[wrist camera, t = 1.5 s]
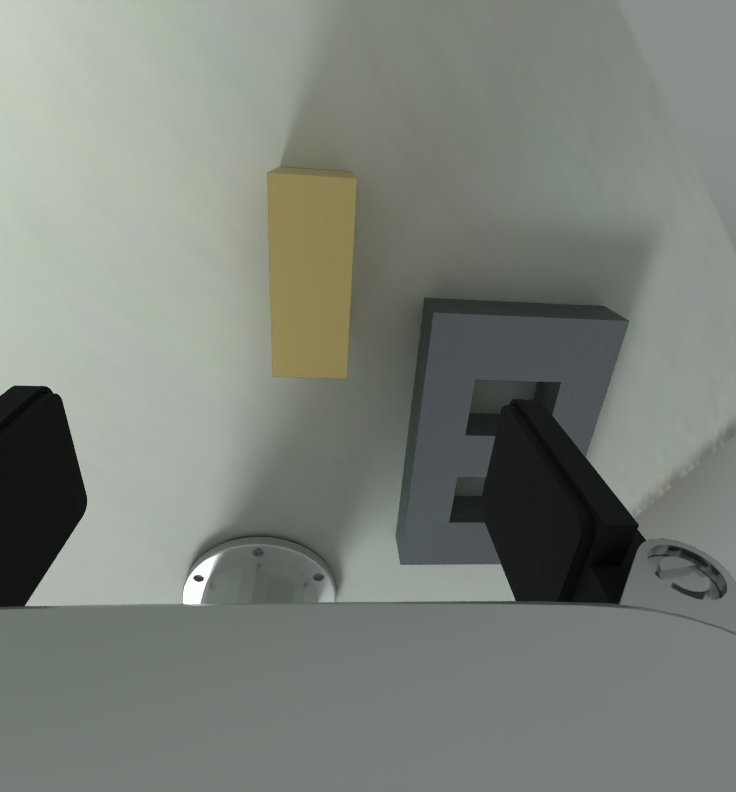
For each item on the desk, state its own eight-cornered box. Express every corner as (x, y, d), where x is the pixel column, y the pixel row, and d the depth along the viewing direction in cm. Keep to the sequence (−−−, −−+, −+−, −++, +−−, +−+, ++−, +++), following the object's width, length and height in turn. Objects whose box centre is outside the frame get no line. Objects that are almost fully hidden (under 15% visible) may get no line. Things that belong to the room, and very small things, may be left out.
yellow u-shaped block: (343, 339, 32) (346, 378, 27) (281, 337, 32) (272, 376, 26) (351, 171, 27) (357, 178, 22) (279, 166, 27) (267, 172, 22)
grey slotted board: (536, 536, 41) (550, 563, 39) (395, 536, 40) (400, 564, 37) (604, 306, 32) (629, 321, 29) (424, 298, 31) (433, 312, 28)
